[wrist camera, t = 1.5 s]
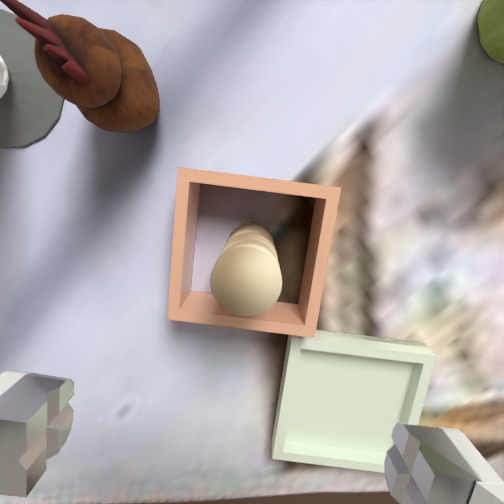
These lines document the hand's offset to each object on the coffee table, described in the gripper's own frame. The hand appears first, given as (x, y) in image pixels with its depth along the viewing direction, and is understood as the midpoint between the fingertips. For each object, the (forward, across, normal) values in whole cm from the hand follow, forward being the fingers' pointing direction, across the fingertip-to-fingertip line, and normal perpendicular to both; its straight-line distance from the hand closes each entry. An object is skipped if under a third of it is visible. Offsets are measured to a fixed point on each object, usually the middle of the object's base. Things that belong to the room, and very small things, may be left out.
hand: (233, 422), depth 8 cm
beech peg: (+25, 0, 0) cm, 25 cm away
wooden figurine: (+25, +12, -12) cm, 30 cm away
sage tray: (+24, -13, +15) cm, 31 cm away
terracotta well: (+25, 0, 0) cm, 25 cm away
